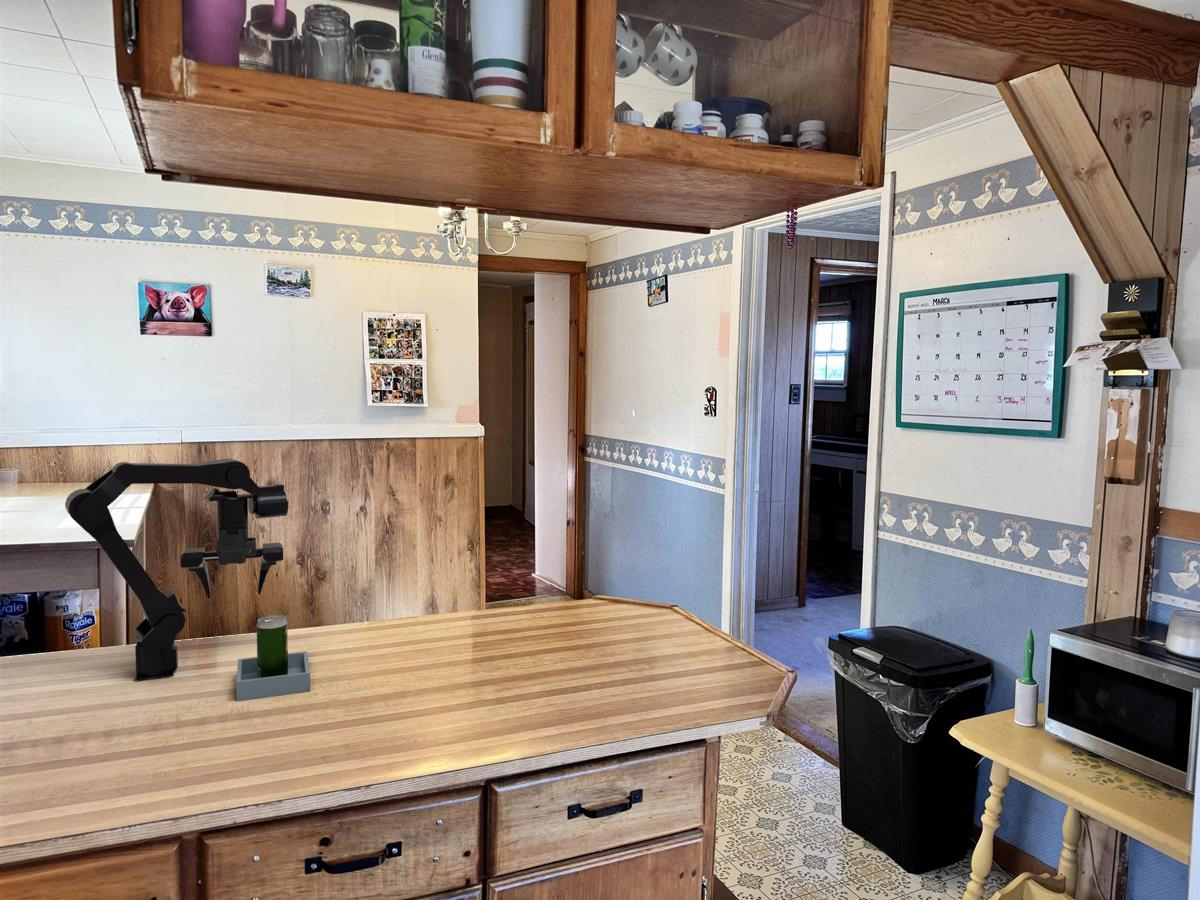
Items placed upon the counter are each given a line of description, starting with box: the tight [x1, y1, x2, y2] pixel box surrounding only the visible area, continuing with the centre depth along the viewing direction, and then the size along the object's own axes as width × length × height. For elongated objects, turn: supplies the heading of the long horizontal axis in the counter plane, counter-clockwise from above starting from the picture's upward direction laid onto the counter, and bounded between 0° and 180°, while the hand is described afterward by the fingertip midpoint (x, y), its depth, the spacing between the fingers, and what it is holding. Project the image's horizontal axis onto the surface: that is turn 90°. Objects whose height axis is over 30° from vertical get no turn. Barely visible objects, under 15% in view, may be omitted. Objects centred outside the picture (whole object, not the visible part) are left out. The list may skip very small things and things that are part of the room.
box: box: [235, 650, 311, 702], centre depth 146 cm, size 12×12×4 cm
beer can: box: [256, 614, 289, 678], centre depth 146 cm, size 5×5×12 cm
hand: (234, 596), depth 158 cm, fingers open, 9 cm apart
